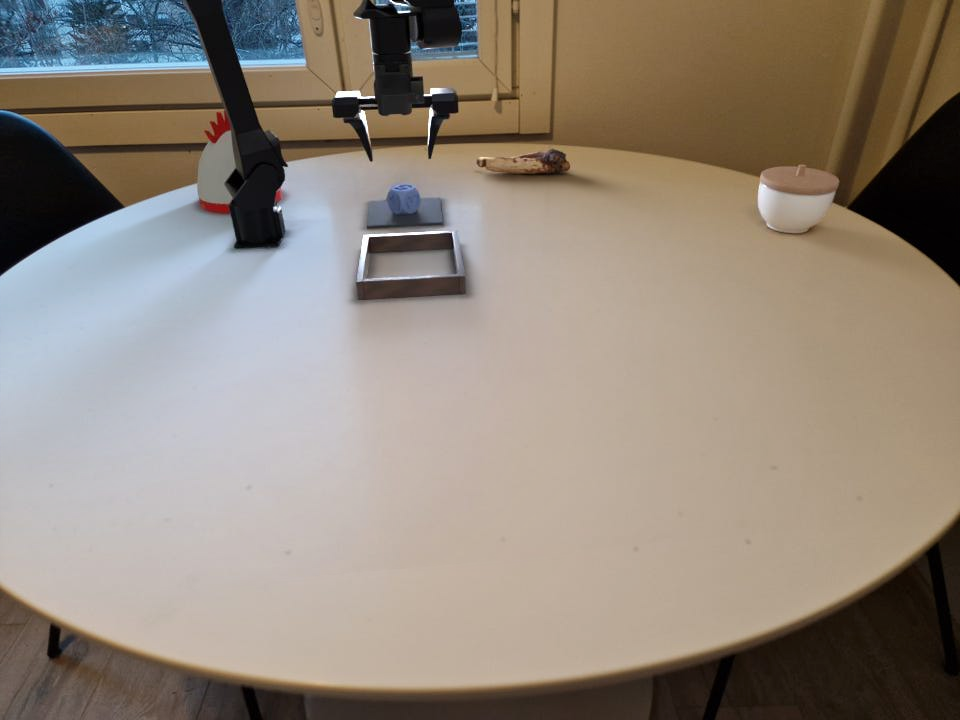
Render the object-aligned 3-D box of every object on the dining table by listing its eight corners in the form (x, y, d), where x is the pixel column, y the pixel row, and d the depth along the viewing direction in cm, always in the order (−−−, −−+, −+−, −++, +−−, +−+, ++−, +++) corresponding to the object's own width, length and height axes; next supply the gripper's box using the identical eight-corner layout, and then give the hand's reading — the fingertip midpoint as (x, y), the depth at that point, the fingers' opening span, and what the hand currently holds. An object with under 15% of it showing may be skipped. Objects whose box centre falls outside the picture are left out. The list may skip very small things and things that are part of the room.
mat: (367, 228, 102) (366, 225, 102) (370, 203, 112) (370, 200, 112) (443, 224, 103) (442, 222, 103) (439, 199, 113) (439, 197, 113)
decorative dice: (387, 211, 107) (385, 187, 105) (405, 205, 110) (403, 182, 108) (403, 217, 105) (401, 192, 103) (421, 210, 108) (420, 186, 105)
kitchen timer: (298, 195, 117) (283, 107, 109) (237, 218, 107) (215, 124, 99) (246, 183, 123) (228, 100, 115) (183, 204, 113) (159, 115, 105)
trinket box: (748, 234, 98) (762, 172, 93) (752, 210, 106) (764, 152, 101) (826, 243, 94) (845, 179, 89) (824, 218, 103) (840, 158, 98)
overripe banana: (568, 166, 130) (479, 163, 132) (570, 142, 128) (479, 140, 129) (570, 179, 122) (475, 175, 124) (572, 153, 120) (475, 150, 121)
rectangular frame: (358, 299, 82) (355, 282, 80) (365, 251, 95) (363, 235, 93) (465, 293, 82) (465, 276, 81) (458, 246, 96) (457, 230, 94)
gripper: (320, 62, 87) (336, 177, 95) (459, 57, 88) (462, 172, 97) (329, 51, 96) (343, 157, 105) (454, 47, 98) (457, 152, 106)
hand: (400, 159), depth 103 cm, fingers open, 9 cm apart
